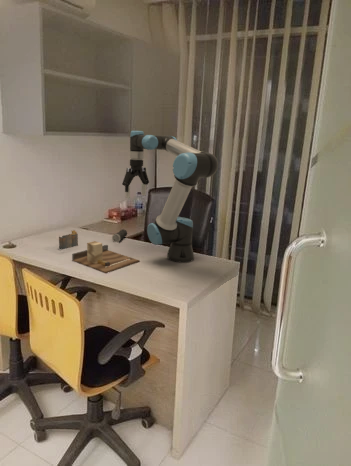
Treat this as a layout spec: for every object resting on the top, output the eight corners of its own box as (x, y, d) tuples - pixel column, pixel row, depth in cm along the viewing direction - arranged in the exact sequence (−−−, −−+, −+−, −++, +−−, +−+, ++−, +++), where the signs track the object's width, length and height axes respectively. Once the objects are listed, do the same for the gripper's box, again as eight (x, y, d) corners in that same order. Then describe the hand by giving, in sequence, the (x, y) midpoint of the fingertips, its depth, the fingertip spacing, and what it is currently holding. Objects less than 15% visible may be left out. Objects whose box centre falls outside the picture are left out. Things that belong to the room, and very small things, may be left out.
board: (139, 261, 196) (139, 255, 195) (106, 273, 177) (106, 266, 176) (106, 251, 211) (106, 244, 210) (72, 260, 192) (72, 253, 191)
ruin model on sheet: (74, 245, 220) (74, 229, 218) (77, 246, 219) (77, 230, 216) (58, 249, 211) (58, 233, 209) (62, 250, 210) (61, 234, 207)
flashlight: (120, 236, 244) (120, 228, 243) (127, 236, 243) (127, 229, 242) (111, 242, 230) (112, 233, 228) (120, 242, 229) (120, 234, 227)
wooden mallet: (112, 264, 187) (112, 246, 184) (104, 267, 183) (104, 248, 180) (94, 259, 194) (94, 241, 192) (87, 261, 190) (87, 242, 188)
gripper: (145, 158, 216) (145, 193, 222) (115, 159, 197) (115, 197, 202) (155, 159, 212) (154, 195, 218) (126, 160, 193) (125, 199, 198)
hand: (135, 196), depth 210 cm, fingers open, 13 cm apart
